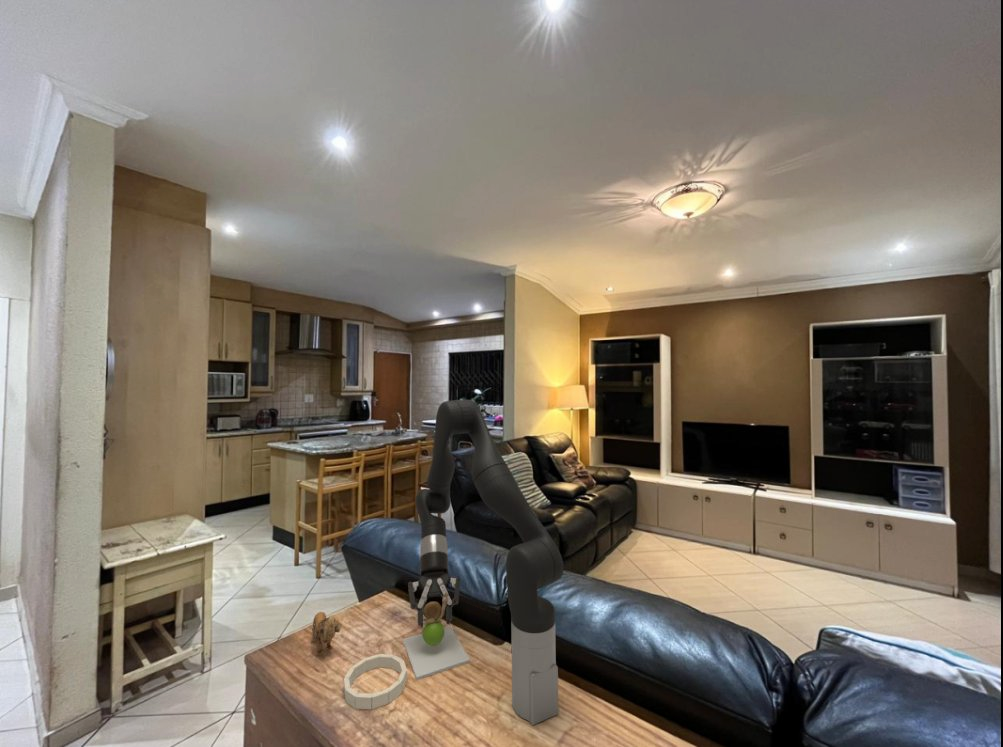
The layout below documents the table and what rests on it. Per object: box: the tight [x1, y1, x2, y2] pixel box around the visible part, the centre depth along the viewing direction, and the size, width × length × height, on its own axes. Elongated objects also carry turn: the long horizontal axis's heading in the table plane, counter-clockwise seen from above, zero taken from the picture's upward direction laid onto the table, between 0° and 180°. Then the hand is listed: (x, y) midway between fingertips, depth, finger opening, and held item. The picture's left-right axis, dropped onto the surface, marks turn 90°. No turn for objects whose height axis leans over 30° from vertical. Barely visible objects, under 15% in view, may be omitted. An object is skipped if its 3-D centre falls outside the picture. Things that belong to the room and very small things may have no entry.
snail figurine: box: [421, 591, 449, 646], centre depth 100 cm, size 5×6×12 cm
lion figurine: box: [310, 611, 343, 657], centre depth 102 cm, size 15×5×9 cm, turn 45°
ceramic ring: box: [343, 653, 408, 710], centre depth 88 cm, size 13×13×2 cm
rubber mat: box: [402, 624, 471, 681], centre depth 99 cm, size 15×13×1 cm
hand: (435, 625), depth 98 cm, fingers closed on snail figurine, 6 cm apart
